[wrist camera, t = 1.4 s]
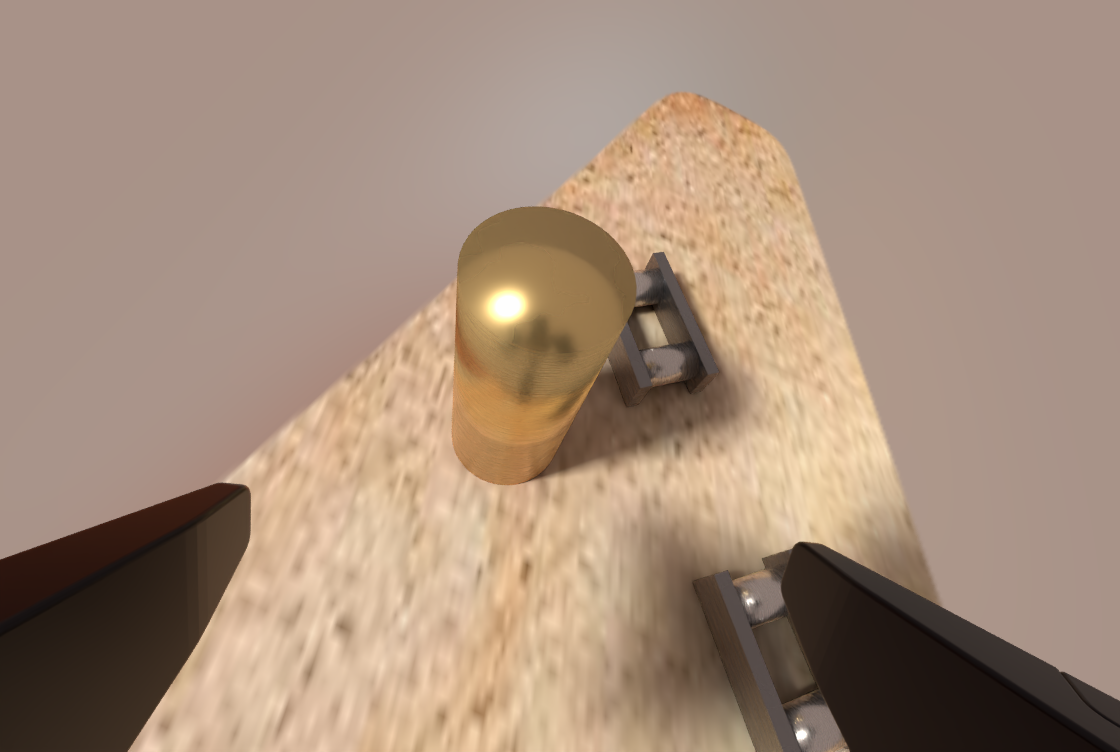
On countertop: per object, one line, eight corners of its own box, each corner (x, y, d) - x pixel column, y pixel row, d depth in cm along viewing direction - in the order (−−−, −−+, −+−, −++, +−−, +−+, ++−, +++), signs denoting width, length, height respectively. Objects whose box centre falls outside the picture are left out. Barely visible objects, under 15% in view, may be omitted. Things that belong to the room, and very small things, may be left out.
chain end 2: (856, 742, 20) (895, 749, 18) (768, 784, 19) (801, 797, 17) (773, 554, 23) (800, 546, 21) (692, 581, 22) (713, 574, 20)
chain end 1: (700, 391, 26) (719, 372, 24) (626, 407, 25) (640, 388, 23) (650, 276, 29) (663, 251, 27) (581, 285, 28) (590, 260, 26)
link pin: (531, 503, 22) (600, 384, 12) (431, 454, 22) (422, 299, 12) (573, 412, 24) (658, 252, 15) (482, 368, 24) (507, 182, 15)
